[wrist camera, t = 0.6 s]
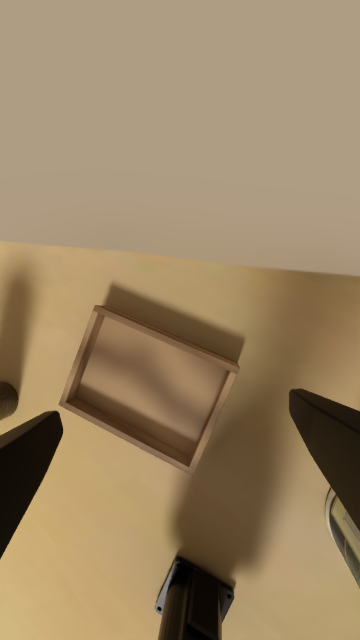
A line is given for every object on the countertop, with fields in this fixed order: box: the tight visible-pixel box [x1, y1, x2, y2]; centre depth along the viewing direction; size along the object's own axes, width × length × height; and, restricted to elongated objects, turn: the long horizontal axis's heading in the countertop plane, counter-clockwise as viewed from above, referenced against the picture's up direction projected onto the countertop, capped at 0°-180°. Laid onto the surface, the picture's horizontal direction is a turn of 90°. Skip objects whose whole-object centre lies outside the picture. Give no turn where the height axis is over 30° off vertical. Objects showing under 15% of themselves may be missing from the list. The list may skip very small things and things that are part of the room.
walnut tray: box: [59, 305, 240, 476], centre depth 22 cm, size 11×15×2 cm
